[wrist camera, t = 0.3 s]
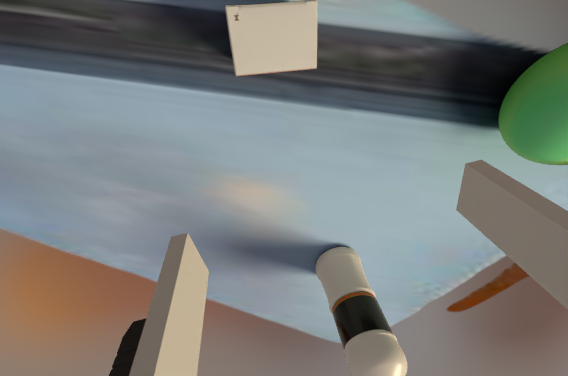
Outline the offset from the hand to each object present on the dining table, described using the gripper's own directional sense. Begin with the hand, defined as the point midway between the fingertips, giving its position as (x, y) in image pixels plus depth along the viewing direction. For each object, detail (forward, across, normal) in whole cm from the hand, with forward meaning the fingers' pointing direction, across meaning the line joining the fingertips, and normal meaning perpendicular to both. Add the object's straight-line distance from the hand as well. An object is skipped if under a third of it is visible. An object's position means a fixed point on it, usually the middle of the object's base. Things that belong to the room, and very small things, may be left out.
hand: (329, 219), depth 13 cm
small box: (+28, +1, +6) cm, 29 cm away
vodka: (+28, +5, -36) cm, 46 cm away
